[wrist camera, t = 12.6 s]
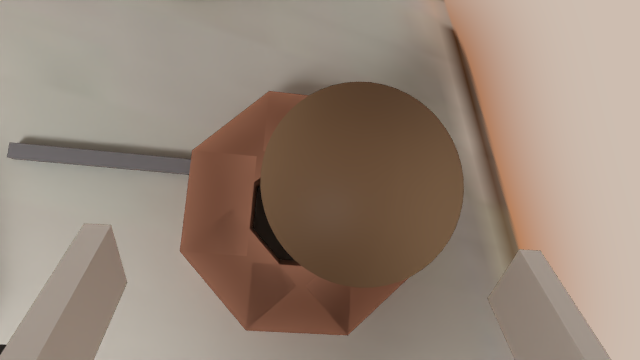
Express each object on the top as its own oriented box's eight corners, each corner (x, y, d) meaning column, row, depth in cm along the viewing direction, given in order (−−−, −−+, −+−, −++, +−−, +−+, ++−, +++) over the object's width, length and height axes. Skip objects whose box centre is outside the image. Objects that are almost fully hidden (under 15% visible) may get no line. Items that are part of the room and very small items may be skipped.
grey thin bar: (14, 158, 21) (6, 157, 20) (17, 144, 21) (9, 142, 21) (201, 175, 22) (199, 174, 21) (203, 161, 22) (201, 160, 22)
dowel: (268, 241, 22) (250, 281, 6) (274, 179, 22) (270, 70, 7) (330, 246, 22) (460, 294, 7) (334, 185, 23) (466, 93, 7)
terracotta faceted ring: (185, 312, 21) (170, 327, 18) (210, 101, 23) (200, 83, 20) (397, 323, 22) (416, 338, 19) (407, 123, 24) (426, 108, 21)
